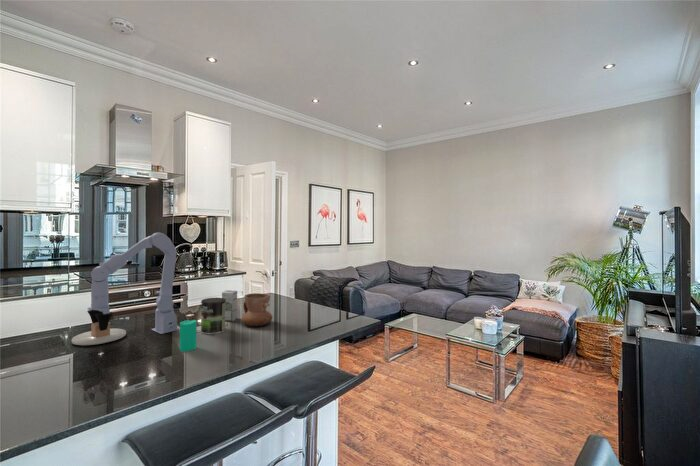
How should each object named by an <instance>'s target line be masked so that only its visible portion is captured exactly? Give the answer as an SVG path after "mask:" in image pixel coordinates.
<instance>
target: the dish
mask: <svg viewBox="0 0 700 466" xmlns="http://www.w3.org/2000/svg"><path fill="white" fill-rule="evenodd" d="M125 336H127V330H125V329H123V328H110V335H107V336H102V337H98V338H95V337H93V336H91V330H89V331H85V332H82V333H79V334H77V335H75V336H73V337H72V338H71V343H72V345H76V346H92V345H93V346H95V345H100V344H106V343H110V342H115V341H118V340H119V339H122V338H124V337H125Z"/></svg>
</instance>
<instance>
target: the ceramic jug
mask: <svg viewBox="0 0 700 466" xmlns="http://www.w3.org/2000/svg"><path fill="white" fill-rule="evenodd" d="M243 298H244V302H243V305H242V307H243V310H244V311H243V312H244V314H242V316H241V322H242V323H243V325H244V326H249V327H262V326H263V327H264V326H265V325H267V324H269V323H270V322H272V321H273V314H272V313H271V312H269V311H267V308H268V307H270V306H271V304H270V303H269V302H270V300H271V294H268V293H257V292H256V293H247V294H245V295H244V297H243Z"/></svg>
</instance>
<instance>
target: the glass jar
mask: <svg viewBox="0 0 700 466" xmlns="http://www.w3.org/2000/svg"><path fill="white" fill-rule="evenodd" d="M200 302H201V303H200V304H201V313H200V314H201V315H200V316H201V319H200V321H201V322H200V323H201V325H200V333H201V334H202V333H204V334H203V335H217V333H218V334H221V332H222V333H224V332H225V331H226V321H225V302H226V299H224V298H222V297H207V298H203V299H201V301H200Z"/></svg>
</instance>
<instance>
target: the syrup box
mask: <svg viewBox="0 0 700 466" xmlns="http://www.w3.org/2000/svg"><path fill="white" fill-rule="evenodd" d="M221 298H224V299H226V302H225V322H234V321H236V319H237V318H238V290H231V289H230V290H227V289H226V290H224V291H222V292H221Z"/></svg>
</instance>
